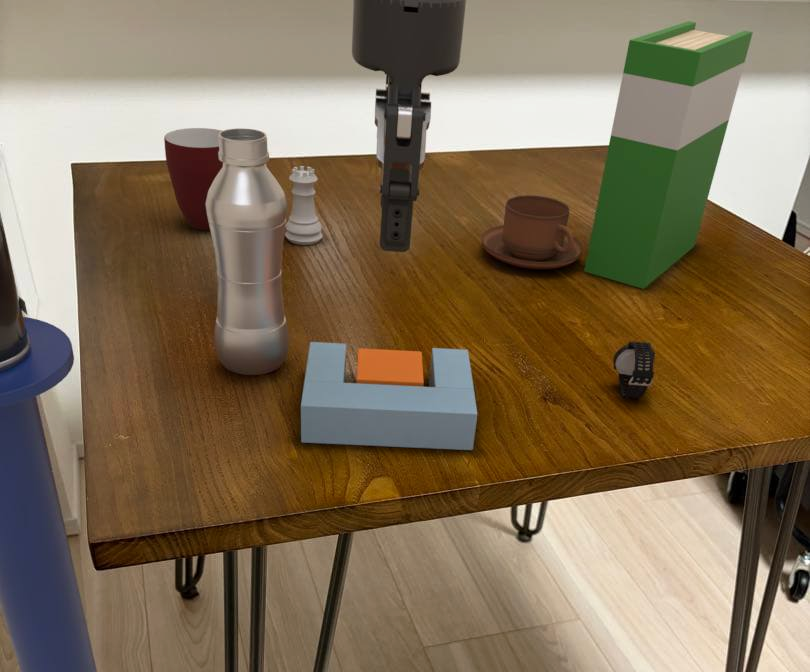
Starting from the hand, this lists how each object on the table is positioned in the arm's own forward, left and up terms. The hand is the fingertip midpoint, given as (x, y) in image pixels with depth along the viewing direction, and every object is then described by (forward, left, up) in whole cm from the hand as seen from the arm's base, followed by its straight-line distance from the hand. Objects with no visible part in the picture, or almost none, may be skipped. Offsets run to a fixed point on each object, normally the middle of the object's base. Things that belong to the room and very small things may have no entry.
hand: (394, 228), depth 70 cm
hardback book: (+31, +36, -15) cm, 50 cm away
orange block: (0, -1, -15) cm, 15 cm away
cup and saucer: (+17, +34, -15) cm, 41 cm away
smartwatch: (+22, +2, -15) cm, 27 cm away
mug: (-22, +40, -15) cm, 48 cm away
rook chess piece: (-10, +36, -15) cm, 41 cm away
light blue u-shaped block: (0, -3, -15) cm, 15 cm away
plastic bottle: (-12, +4, -15) cm, 20 cm away
